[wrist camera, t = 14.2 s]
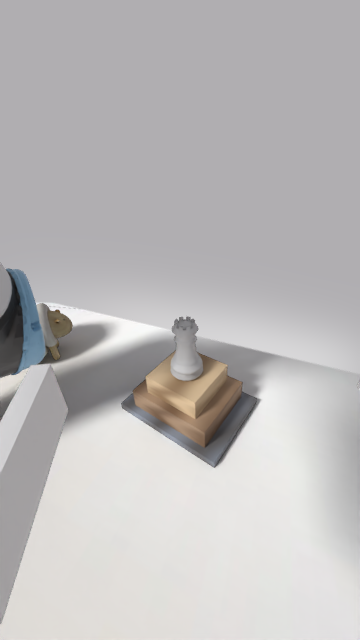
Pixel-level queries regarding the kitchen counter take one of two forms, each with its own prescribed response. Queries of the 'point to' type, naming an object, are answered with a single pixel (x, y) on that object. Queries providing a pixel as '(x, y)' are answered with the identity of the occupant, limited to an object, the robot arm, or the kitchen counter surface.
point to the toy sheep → (53, 328)
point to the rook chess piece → (186, 351)
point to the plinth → (193, 407)
